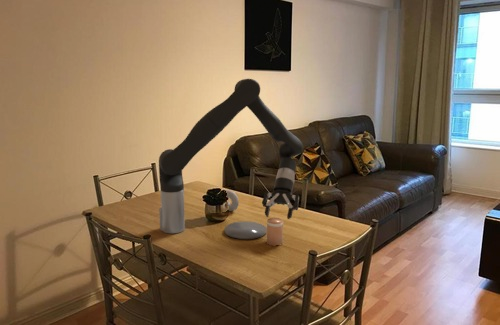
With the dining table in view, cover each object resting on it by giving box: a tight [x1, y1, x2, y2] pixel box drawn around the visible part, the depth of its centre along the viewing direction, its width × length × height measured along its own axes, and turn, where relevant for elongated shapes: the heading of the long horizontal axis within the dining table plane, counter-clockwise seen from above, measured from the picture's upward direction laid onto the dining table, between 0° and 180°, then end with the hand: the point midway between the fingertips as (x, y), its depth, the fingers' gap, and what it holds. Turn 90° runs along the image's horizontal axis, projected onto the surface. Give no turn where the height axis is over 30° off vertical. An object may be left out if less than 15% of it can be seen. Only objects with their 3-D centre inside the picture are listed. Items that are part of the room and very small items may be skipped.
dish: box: [224, 220, 267, 240], centre depth 171 cm, size 17×17×1 cm
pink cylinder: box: [266, 217, 284, 247], centre depth 159 cm, size 6×6×9 cm
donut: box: [225, 189, 240, 212], centre depth 195 cm, size 10×4×10 cm, turn 50°
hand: (277, 217), depth 162 cm, fingers open, 8 cm apart
